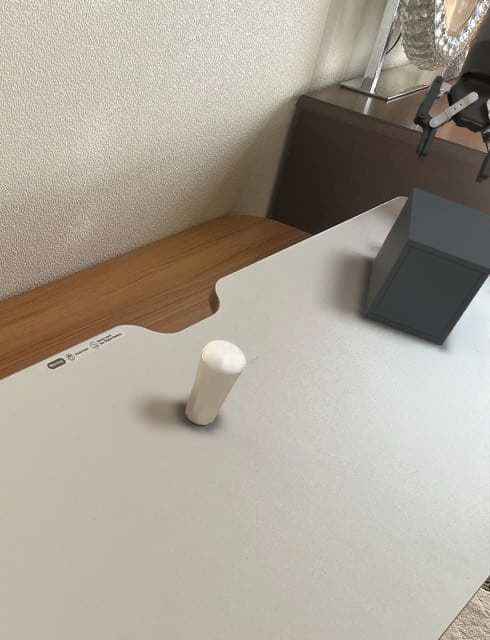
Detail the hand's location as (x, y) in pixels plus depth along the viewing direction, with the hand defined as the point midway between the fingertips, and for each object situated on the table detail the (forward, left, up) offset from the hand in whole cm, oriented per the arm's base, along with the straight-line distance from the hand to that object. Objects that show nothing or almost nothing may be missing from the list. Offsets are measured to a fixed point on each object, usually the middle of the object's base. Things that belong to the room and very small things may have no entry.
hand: (451, 169), depth 121 cm
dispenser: (+5, +17, -11) cm, 21 cm away
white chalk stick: (+35, +47, -11) cm, 59 cm away
